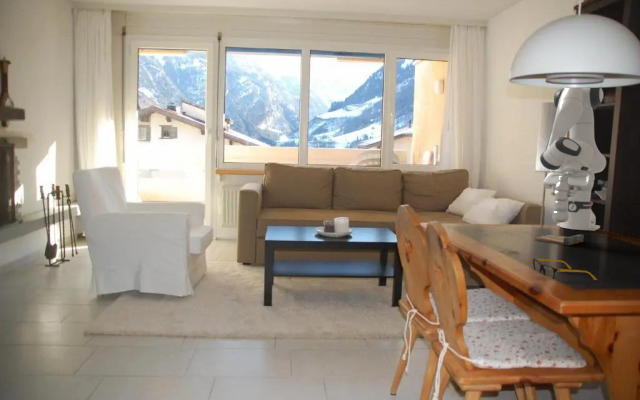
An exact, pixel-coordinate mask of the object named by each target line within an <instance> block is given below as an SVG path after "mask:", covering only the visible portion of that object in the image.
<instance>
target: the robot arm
mask: <svg viewBox="0 0 640 400" xmlns="http://www.w3.org/2000/svg"><path fill="white" fill-rule="evenodd" d="M603 99H604V90H603V89H602V87H601V88H566V87H565V88H560V89H558V90H557V91H556V92H555V93H554V95H553V104H554V107H555V108H556V113H555V117H554V121H553V125H552V128H551V132H550V134H549V138H548V142H547V144H546V148H545V150H544V151H543V152H542V153H541V155H540V156H539V157H540V158H539V159H540V163H541V164H542V167H544V168H545V169H548V170H550V171H552V172H549V173H548V174H547V176H545V177H544V180H543V181H542V185H543V186H544V188H545V189H546V190H547V189H548V190H551V192H550V194H551V196H554V197H555V186H556V185H557V183H558V182H559V180H558V179H559V176H568V181H567V183H568V184H569V186H570V188H571V190H570V192H569V193H568V196H569V201H568V213H569V219H568V221H567V222H562V223H560V222H557V223H556V226H558V227H560V228H563V229H564V228H565V229H569V230H579V231H591V232H592V231H593V232H594V231H597V230H599V229H600V228H601V225H597V224H596V215H595V213H594V211H593V210H592V206H593V204H594V202H593V201H591V195H592V190H593V187H594V183H595V179H596V178H595V174H597V173H601V172H603V170H604V169H605V168H606V166H607V158H606V157H605V156H604V155H603V154H602V153H601V152H600V150H599V149H598V146H597V144H596V140H595V116H594V111H595V110H596V109H597V108H598V107H599V106H600V105H601V104H602V102H603ZM568 132H569V137H566V136H567V134H568ZM556 170H558V171H556Z"/></svg>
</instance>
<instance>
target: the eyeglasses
mask: <svg viewBox="0 0 640 400" xmlns="http://www.w3.org/2000/svg"><path fill="white" fill-rule="evenodd" d="M535 262H537V263H538V264H539V271H538V272H539V273H542V274H543V275H544V276H546V268H545V266H546V267H549V268H551V270H552V272H553V275H552V279H555V278H556V277H555V276H556V273H560V272H561V273H564V272H565V273H566V272H568V273H586V274H588V275H590V277H592V279H593V281H598V278H596V277H595V275H593V274H592V273H591V272H589V271H587V270H581V269H572V267H571V266H570V265H569V264H568V263H567V262H566V261H564V260H559V259H549V258H547V259H546V258H532V264H533V266H532V267H533V269H534V270H536V266H535V265H536V264H535ZM541 262H556V263H557V262H558V263H563V264H565V265H566V266H567V268H568V269H566V268H565V269H564V268H555V267H553V266H551V265H548V264H542V263H541Z"/></svg>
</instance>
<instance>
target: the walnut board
mask: <svg viewBox="0 0 640 400" xmlns="http://www.w3.org/2000/svg"><path fill="white" fill-rule="evenodd" d="M584 237H585V235H584V234H581V233H580V234H576V235H570V236H563V235H557V234H547V235H542V236H538V237H534V241H539V242H544V243H550V244H557V245H563V246H570V245H575V244H579V242H580V243H583V242H584Z"/></svg>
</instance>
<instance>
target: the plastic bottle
mask: <svg viewBox="0 0 640 400" xmlns="http://www.w3.org/2000/svg"><path fill="white" fill-rule="evenodd" d="M558 180H559V182H558V183H557V185H556V186H555V196H554V208H553V211H552V220H553V221H554V222H557V223H562V222H567V221H568V219H569V213H568V201H569V196H568V193H569V192H570V190H571V188H570V186H569V184H568V183H567V181H568V176H559V179H558Z"/></svg>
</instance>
